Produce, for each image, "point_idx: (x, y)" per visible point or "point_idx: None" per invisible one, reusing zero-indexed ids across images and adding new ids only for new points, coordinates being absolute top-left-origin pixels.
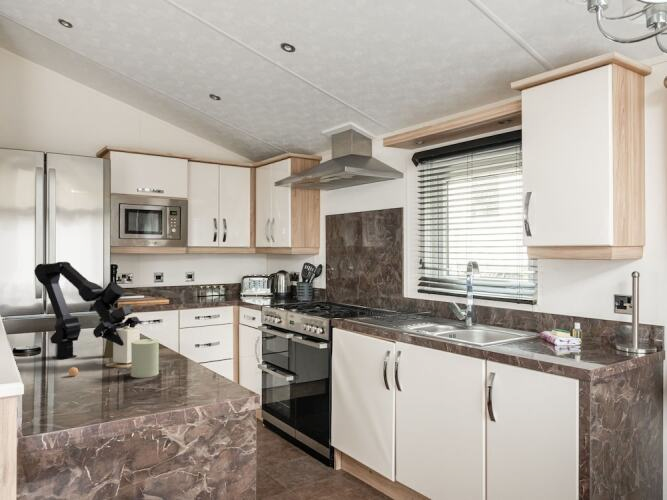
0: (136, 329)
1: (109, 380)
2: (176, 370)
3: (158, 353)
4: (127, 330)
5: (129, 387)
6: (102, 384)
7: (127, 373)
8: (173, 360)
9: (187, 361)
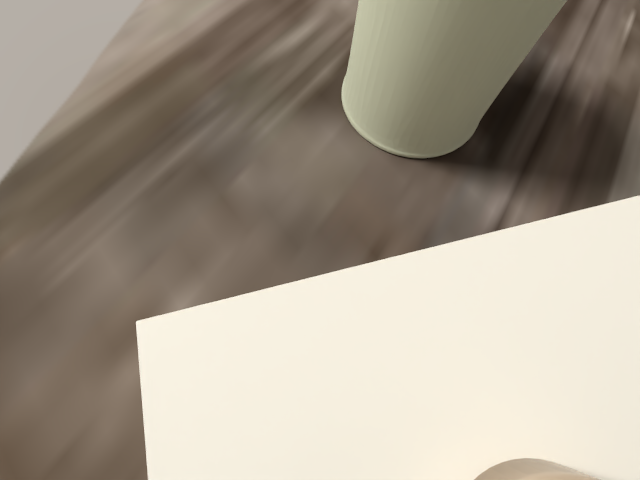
0: (298, 285)
1: (590, 134)
2: (258, 50)
3: None
4: (626, 247)
5: None
6: (635, 103)
7: (466, 179)
8: (59, 237)
9: (46, 146)
